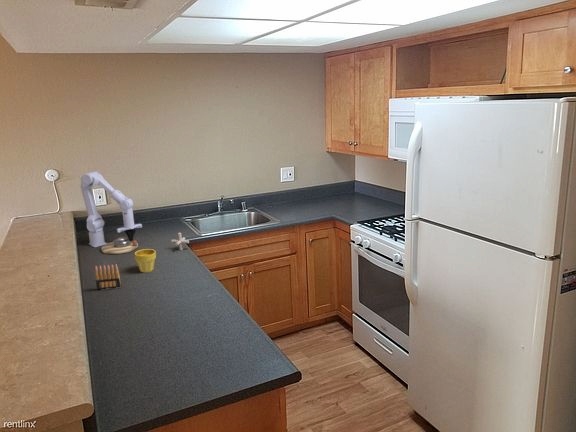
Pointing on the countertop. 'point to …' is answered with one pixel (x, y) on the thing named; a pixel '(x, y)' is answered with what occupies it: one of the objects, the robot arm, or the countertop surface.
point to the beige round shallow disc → (111, 249)
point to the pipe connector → (180, 241)
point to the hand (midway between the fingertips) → (131, 241)
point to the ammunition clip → (107, 277)
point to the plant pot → (145, 259)
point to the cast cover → (121, 242)
